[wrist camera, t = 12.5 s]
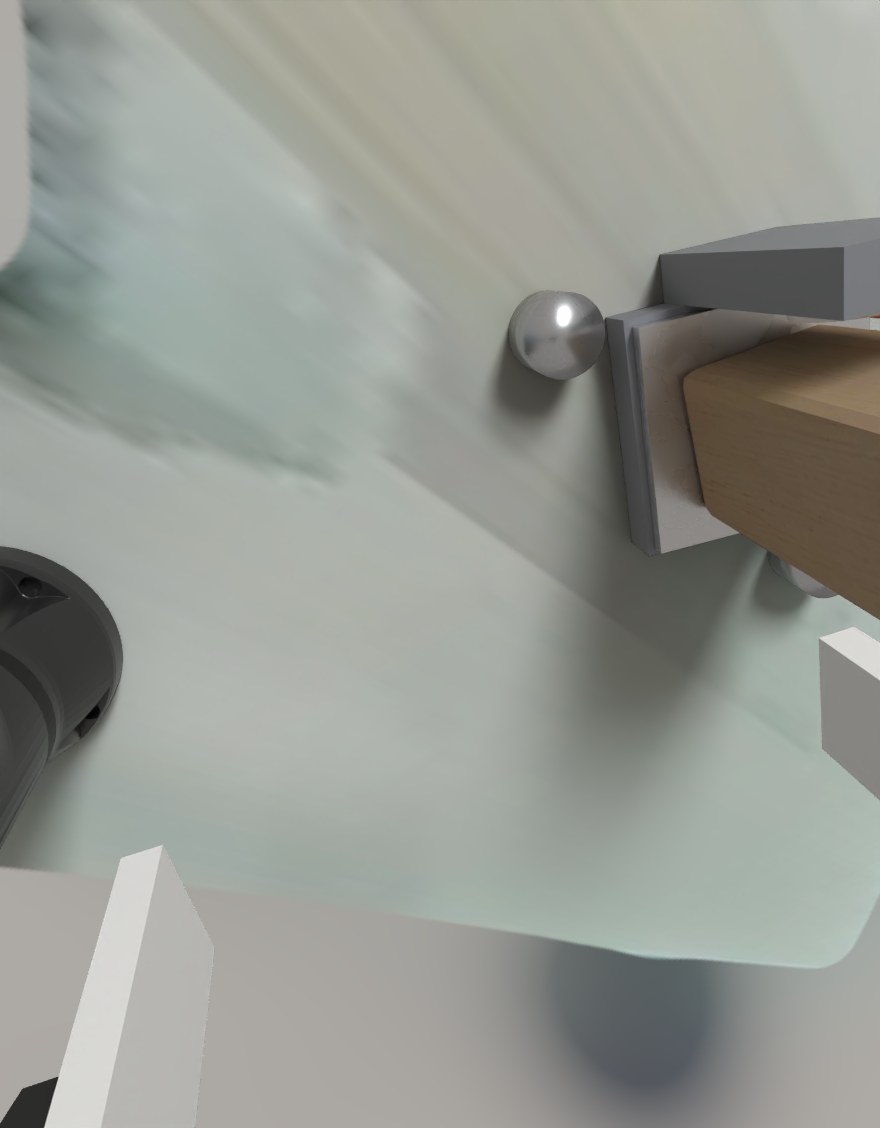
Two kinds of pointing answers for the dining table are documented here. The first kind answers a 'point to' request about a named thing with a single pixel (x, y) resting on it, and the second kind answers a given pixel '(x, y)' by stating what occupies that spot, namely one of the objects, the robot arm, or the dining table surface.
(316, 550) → the dining table surface
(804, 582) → the cylinder
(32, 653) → the robot arm
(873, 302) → the base
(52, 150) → the dining table surface
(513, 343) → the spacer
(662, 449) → the pan
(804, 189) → the dining table surface
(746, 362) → the wooden block
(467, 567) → the dining table surface
